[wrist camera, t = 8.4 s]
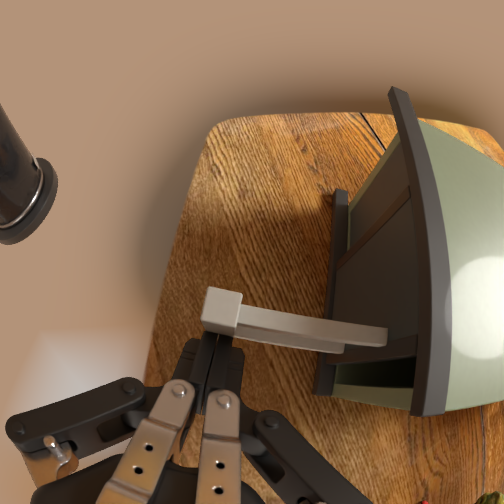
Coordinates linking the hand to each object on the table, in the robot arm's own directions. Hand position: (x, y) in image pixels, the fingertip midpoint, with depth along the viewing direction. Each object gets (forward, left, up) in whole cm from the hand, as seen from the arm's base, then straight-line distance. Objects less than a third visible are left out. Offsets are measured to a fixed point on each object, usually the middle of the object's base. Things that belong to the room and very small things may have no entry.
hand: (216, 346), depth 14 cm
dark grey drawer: (+4, +4, -5) cm, 7 cm away
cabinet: (+14, +6, -6) cm, 17 cm away
